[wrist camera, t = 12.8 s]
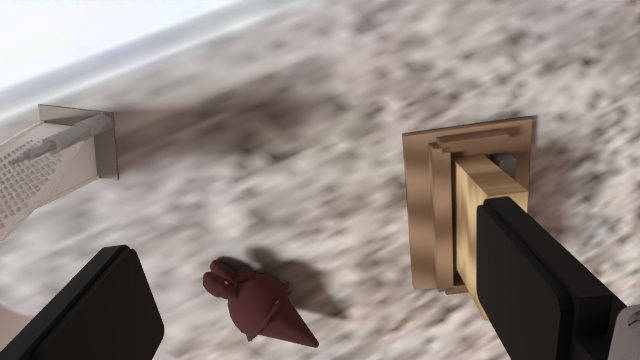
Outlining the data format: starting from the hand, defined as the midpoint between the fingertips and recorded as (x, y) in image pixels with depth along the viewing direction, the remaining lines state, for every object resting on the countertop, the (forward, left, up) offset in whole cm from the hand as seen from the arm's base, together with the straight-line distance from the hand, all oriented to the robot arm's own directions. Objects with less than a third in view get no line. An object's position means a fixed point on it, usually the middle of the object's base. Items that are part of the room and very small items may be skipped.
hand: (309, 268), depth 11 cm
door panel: (+14, +13, -27) cm, 33 cm away
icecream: (+21, -9, -29) cm, 37 cm away
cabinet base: (+14, +13, -28) cm, 34 cm away
